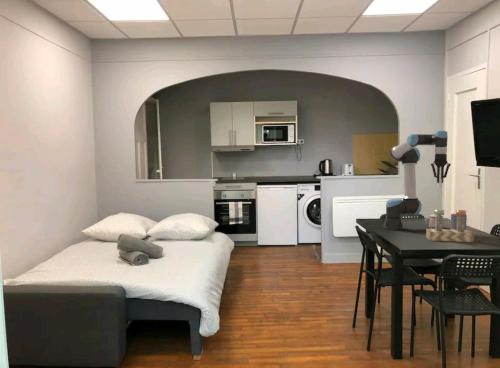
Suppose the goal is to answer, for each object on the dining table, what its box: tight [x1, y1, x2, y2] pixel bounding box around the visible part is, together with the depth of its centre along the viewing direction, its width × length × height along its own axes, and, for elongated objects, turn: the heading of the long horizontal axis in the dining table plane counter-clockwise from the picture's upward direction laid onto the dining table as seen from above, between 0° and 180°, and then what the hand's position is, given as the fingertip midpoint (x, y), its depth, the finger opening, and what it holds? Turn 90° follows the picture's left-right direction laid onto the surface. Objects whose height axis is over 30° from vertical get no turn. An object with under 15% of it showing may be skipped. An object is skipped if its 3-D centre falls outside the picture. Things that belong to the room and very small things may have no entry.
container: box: [450, 213, 468, 230], centre depth 314 cm, size 10×10×15 cm
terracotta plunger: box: [455, 209, 467, 217], centre depth 297 cm, size 6×6×14 cm
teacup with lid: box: [424, 212, 438, 228], centre depth 348 cm, size 12×9×12 cm
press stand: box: [425, 215, 475, 243], centre depth 299 cm, size 28×12×16 cm, turn 78°
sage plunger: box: [434, 209, 445, 217], centre depth 300 cm, size 6×6×14 cm
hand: (439, 187), depth 299 cm, fingers closed
